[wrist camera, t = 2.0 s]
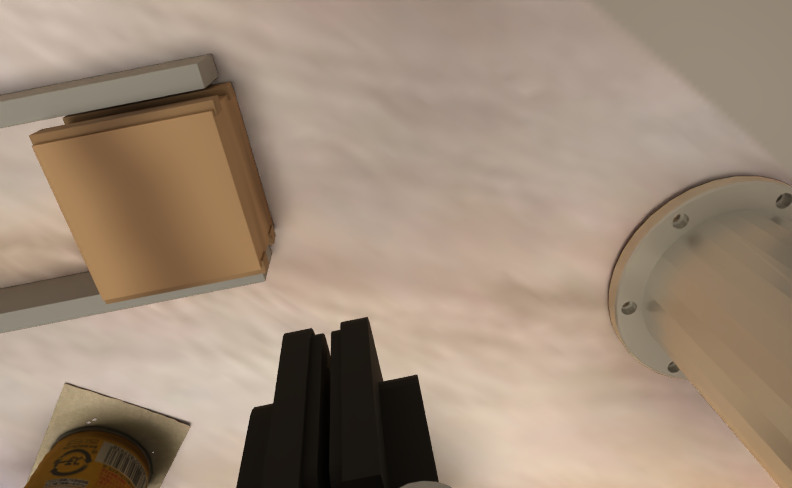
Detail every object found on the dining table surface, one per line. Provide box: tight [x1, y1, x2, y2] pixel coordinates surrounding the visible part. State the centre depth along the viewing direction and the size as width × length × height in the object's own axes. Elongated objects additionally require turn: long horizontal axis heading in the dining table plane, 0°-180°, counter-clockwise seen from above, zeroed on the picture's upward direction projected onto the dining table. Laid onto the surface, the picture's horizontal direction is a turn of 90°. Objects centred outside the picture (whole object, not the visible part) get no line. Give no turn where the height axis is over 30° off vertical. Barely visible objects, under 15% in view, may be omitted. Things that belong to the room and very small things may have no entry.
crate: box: [29, 82, 275, 304], centre depth 26 cm, size 7×8×5 cm
